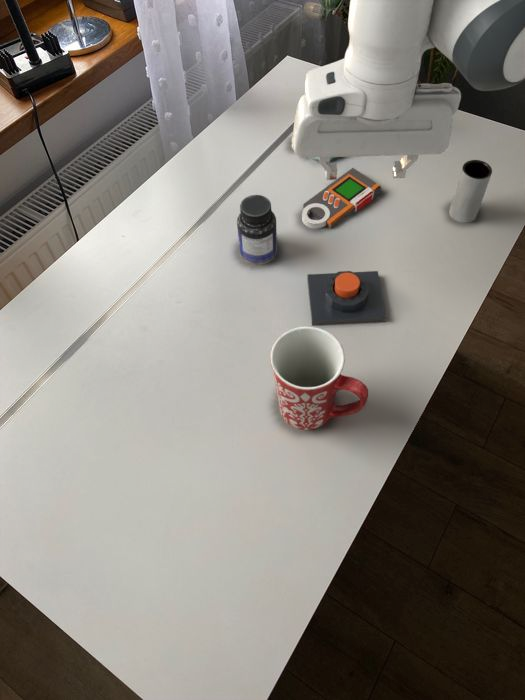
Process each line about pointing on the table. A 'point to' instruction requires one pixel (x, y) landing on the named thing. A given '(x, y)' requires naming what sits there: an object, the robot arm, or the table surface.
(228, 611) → the table surface
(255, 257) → the pill bottle
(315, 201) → the electronic device
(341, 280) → the button
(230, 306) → the table surface
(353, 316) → the button box
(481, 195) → the white cylindrical tube
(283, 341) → the mug
